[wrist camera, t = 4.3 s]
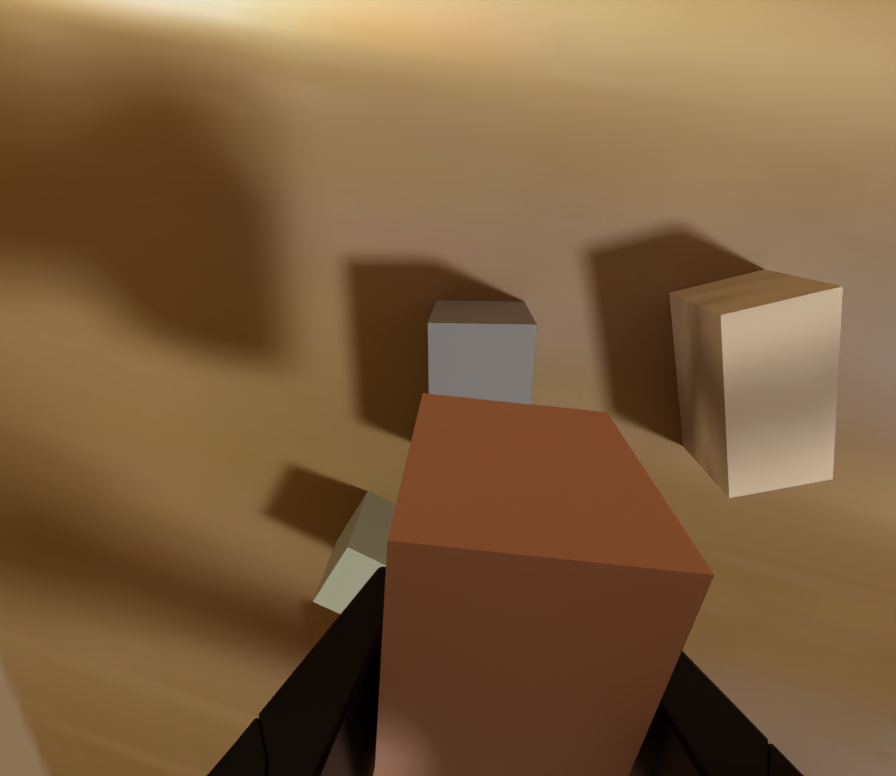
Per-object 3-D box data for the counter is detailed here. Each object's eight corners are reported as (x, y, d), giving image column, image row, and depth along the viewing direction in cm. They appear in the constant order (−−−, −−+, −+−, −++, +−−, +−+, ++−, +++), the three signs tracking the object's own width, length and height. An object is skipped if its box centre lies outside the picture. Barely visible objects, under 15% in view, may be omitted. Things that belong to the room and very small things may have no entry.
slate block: (513, 452, 21) (522, 506, 17) (437, 450, 21) (430, 503, 17) (523, 300, 18) (537, 324, 14) (436, 299, 18) (427, 322, 15)
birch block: (764, 427, 20) (832, 479, 16) (681, 444, 20) (729, 497, 16) (762, 268, 17) (843, 286, 13) (667, 292, 18) (720, 315, 14)
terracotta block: (541, 665, 11) (578, 894, 7) (402, 650, 11) (369, 871, 7) (606, 412, 8) (714, 574, 5) (422, 392, 8) (387, 541, 5)
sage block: (490, 550, 23) (494, 617, 19) (455, 594, 24) (452, 664, 20) (368, 489, 22) (347, 547, 18) (337, 538, 23) (312, 601, 19)
